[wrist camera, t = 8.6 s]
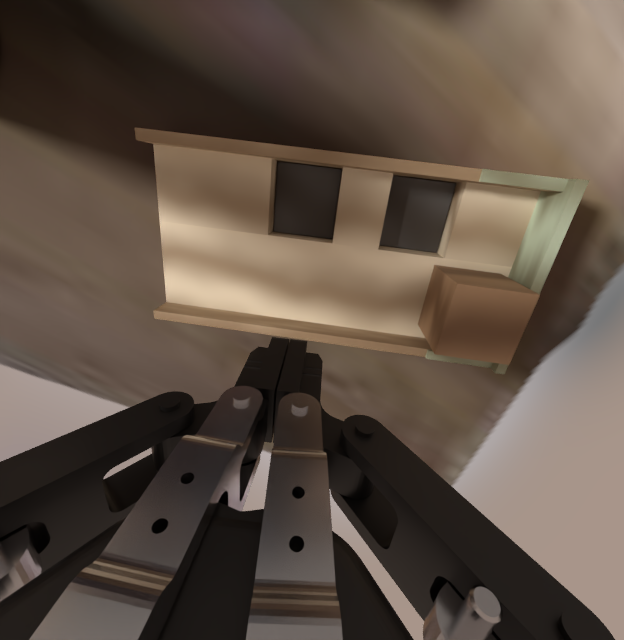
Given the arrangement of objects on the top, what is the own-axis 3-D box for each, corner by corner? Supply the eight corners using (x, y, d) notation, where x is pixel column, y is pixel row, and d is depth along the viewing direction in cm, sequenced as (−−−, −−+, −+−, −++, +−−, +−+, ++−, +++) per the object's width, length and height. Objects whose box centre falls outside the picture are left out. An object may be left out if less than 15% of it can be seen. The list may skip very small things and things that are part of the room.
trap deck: (167, 136, 23) (124, 124, 19) (538, 181, 22) (589, 180, 18) (178, 301, 29) (147, 323, 24) (477, 343, 28) (504, 374, 23)
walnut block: (434, 264, 23) (457, 283, 19) (500, 273, 23) (540, 294, 19) (417, 324, 25) (434, 354, 21) (478, 332, 25) (509, 364, 21)
